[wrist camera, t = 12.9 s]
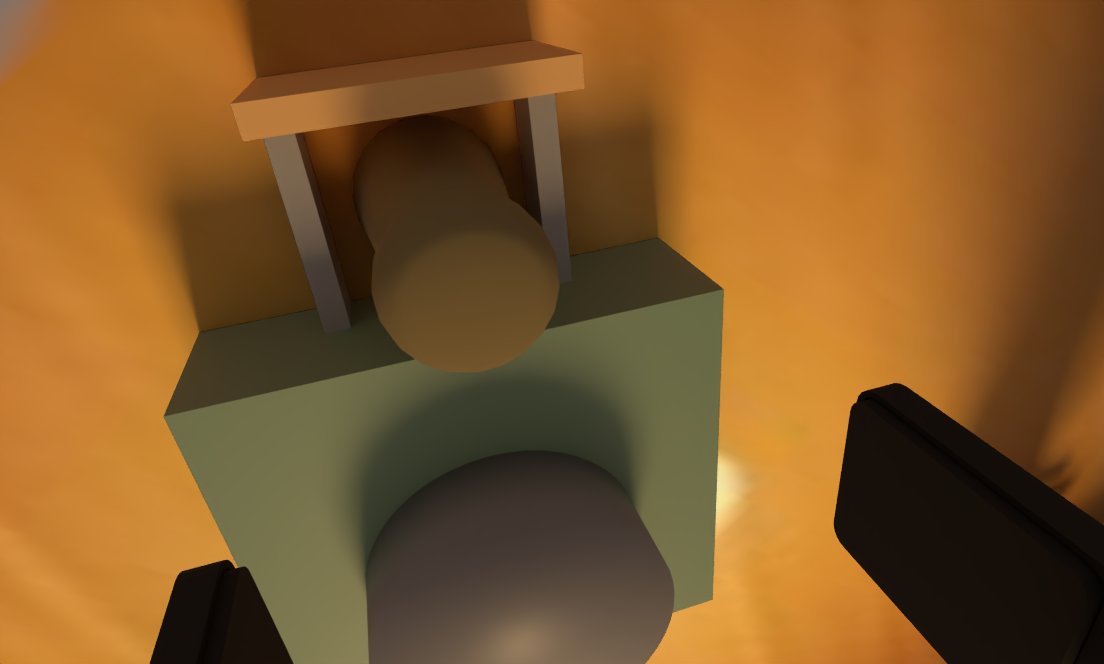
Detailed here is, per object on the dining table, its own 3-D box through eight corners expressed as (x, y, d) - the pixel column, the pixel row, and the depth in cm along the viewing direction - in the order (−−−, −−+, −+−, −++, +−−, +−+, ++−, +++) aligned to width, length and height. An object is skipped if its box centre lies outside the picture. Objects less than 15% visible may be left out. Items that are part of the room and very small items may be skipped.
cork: (317, 181, 25) (300, 299, 15) (441, 81, 24) (502, 140, 15) (420, 290, 28) (458, 444, 18) (531, 204, 27) (628, 316, 18)
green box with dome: (654, 23, 25) (811, 40, 17) (663, 518, 39) (753, 668, 30) (99, 99, 21) (-62, 171, 13) (322, 620, 35) (314, 824, 26)
